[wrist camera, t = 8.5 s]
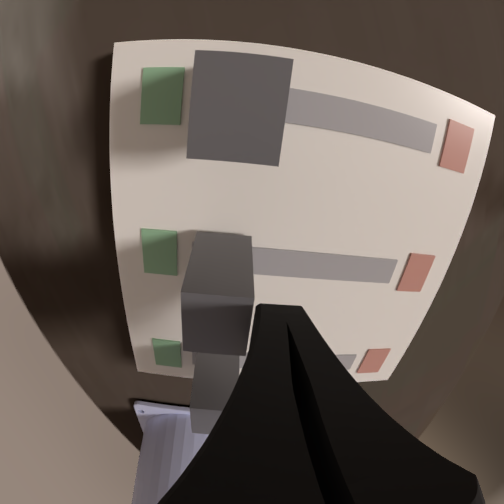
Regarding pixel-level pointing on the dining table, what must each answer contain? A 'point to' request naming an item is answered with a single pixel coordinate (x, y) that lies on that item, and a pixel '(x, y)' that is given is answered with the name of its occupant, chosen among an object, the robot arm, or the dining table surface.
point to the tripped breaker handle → (218, 294)
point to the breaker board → (285, 195)
